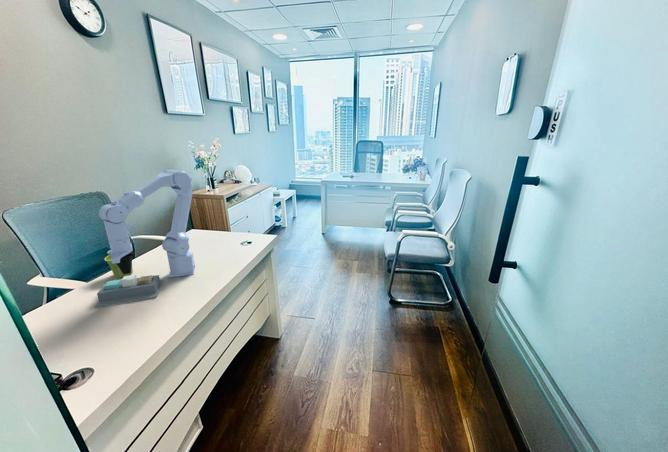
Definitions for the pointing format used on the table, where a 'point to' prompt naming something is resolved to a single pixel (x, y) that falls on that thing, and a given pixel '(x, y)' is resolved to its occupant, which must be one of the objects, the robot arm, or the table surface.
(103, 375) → the table surface
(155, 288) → the tray
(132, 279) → the ivory key
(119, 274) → the plant pot
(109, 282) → the teal key
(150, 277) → the oak key
